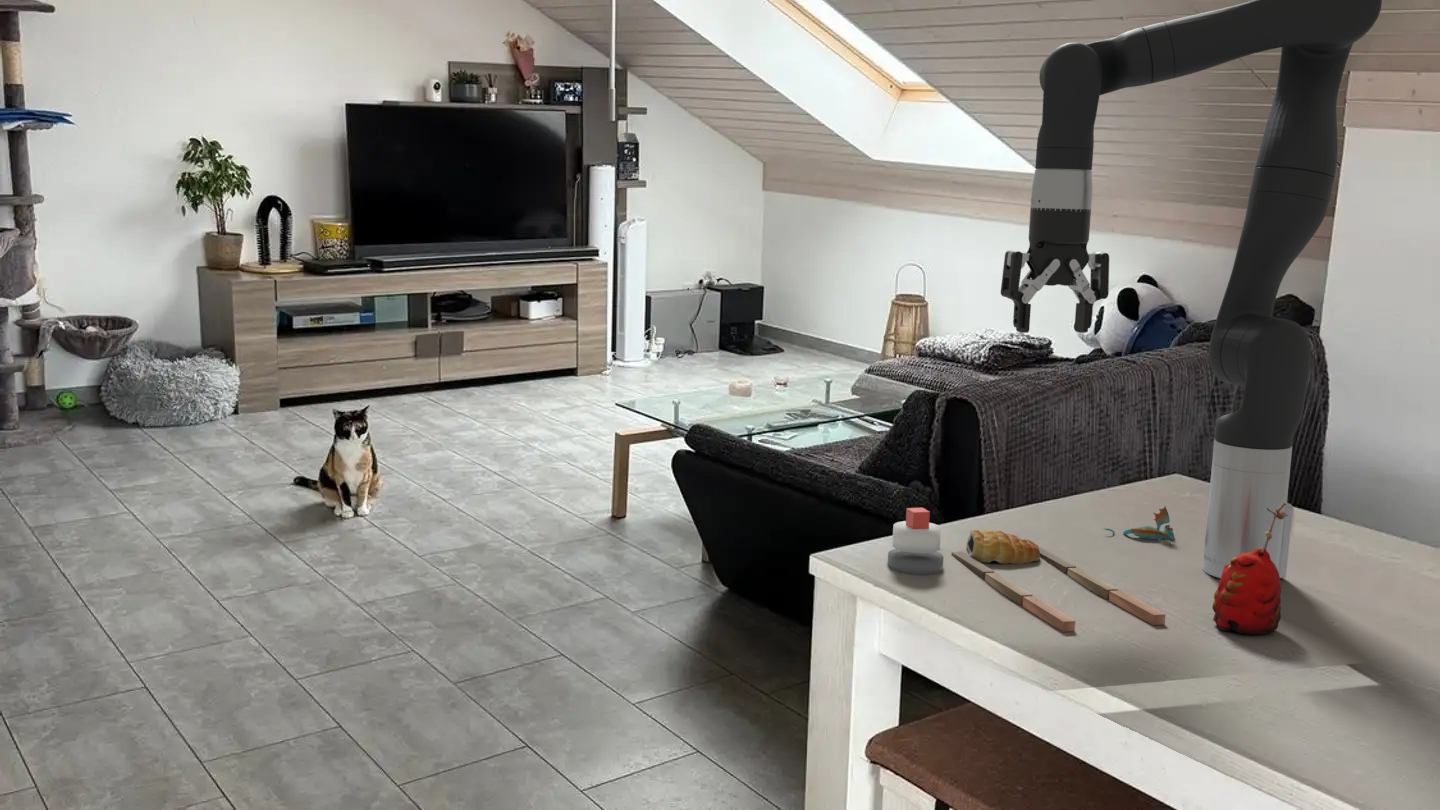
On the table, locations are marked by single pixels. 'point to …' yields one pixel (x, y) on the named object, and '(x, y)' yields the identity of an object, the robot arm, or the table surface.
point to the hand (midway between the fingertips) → (1052, 332)
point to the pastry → (1001, 548)
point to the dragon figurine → (1154, 529)
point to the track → (1050, 612)
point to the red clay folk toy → (1250, 591)
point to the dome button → (916, 533)
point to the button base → (915, 562)
